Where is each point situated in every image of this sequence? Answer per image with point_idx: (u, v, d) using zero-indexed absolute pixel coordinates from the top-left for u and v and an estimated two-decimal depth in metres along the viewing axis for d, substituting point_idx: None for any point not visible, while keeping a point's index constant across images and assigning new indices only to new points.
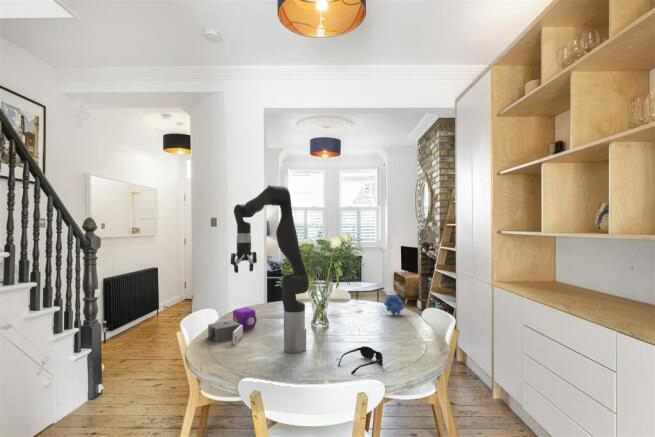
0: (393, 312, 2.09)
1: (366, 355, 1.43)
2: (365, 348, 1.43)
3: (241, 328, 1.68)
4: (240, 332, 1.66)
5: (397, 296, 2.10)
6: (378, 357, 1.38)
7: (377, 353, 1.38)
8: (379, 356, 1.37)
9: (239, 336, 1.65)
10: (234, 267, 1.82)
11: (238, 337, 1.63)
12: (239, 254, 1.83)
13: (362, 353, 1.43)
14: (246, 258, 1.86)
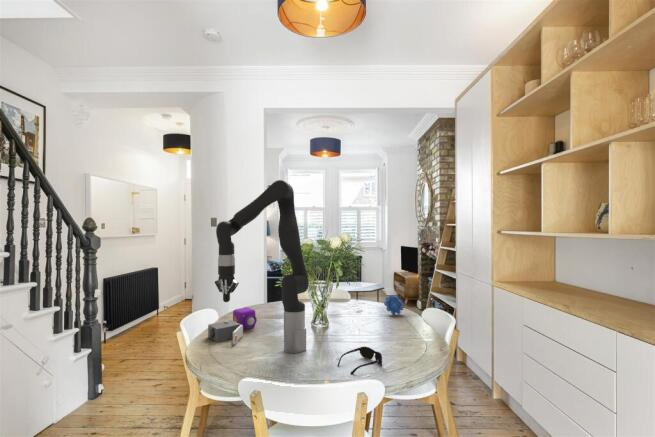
0: (393, 312, 2.09)
1: (366, 355, 1.42)
2: (364, 348, 1.43)
3: (241, 328, 1.68)
4: (240, 332, 1.66)
5: (397, 296, 2.10)
6: (378, 357, 1.38)
7: (377, 353, 1.38)
8: (379, 356, 1.37)
9: (239, 336, 1.65)
10: (228, 296, 1.60)
11: (238, 337, 1.63)
12: None
13: (362, 353, 1.43)
14: None
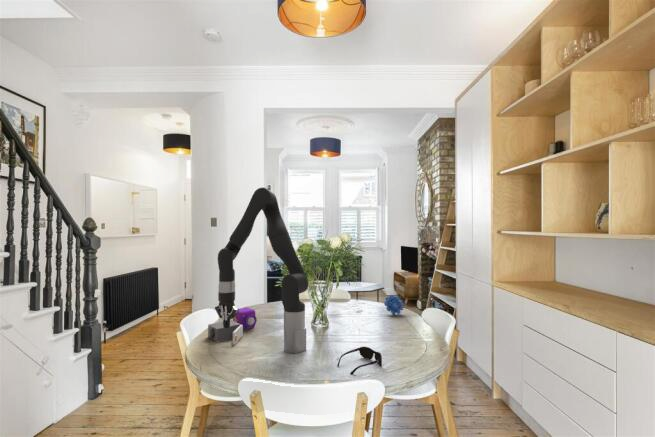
0: (393, 312, 2.09)
1: (365, 355, 1.42)
2: (364, 349, 1.43)
3: (241, 328, 1.68)
4: (240, 332, 1.66)
5: (397, 296, 2.10)
6: (377, 357, 1.38)
7: (376, 353, 1.38)
8: (378, 356, 1.37)
9: (239, 336, 1.65)
10: (228, 322, 1.61)
11: (238, 337, 1.63)
12: None
13: (361, 353, 1.43)
14: None
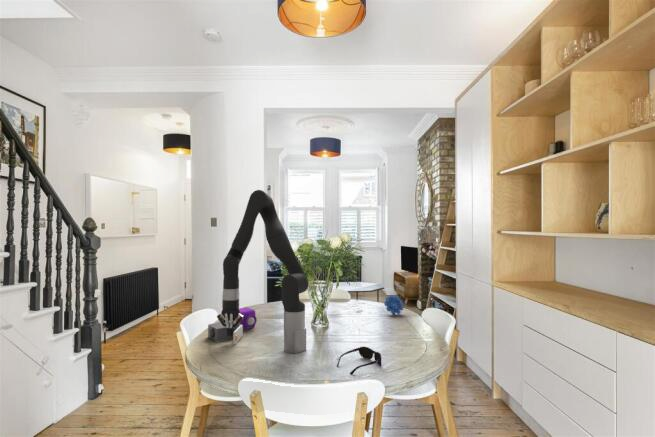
0: (393, 312, 2.09)
1: (365, 355, 1.42)
2: (363, 349, 1.43)
3: (241, 328, 1.68)
4: (240, 332, 1.66)
5: (397, 296, 2.10)
6: (377, 357, 1.38)
7: (376, 353, 1.38)
8: (378, 356, 1.37)
9: (239, 336, 1.65)
10: (233, 329, 1.60)
11: (238, 337, 1.63)
12: None
13: (361, 353, 1.43)
14: None
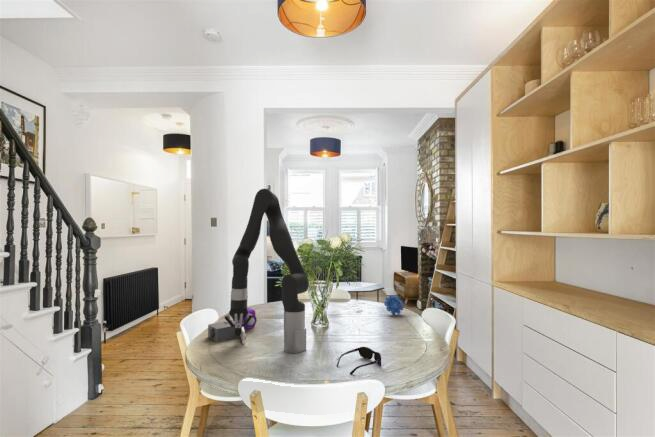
0: (393, 312, 2.09)
1: (365, 355, 1.42)
2: (363, 349, 1.42)
3: None
4: None
5: (397, 296, 2.10)
6: (377, 357, 1.38)
7: (376, 353, 1.38)
8: (378, 356, 1.37)
9: None
10: None
11: None
12: None
13: (361, 353, 1.43)
14: None
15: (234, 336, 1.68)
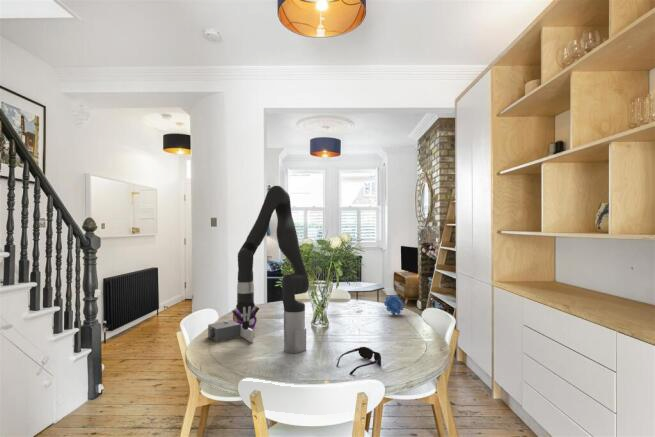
0: (393, 312, 2.09)
1: (365, 355, 1.42)
2: (363, 349, 1.42)
3: None
4: None
5: (397, 296, 2.10)
6: (377, 357, 1.37)
7: (376, 353, 1.38)
8: (378, 356, 1.37)
9: None
10: (248, 322, 1.61)
11: None
12: None
13: (361, 353, 1.43)
14: None
15: (234, 336, 1.68)
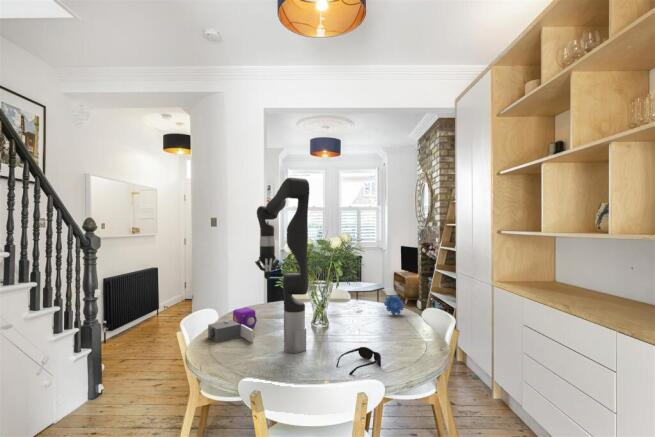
0: (393, 312, 2.09)
1: (365, 355, 1.42)
2: (363, 349, 1.42)
3: None
4: None
5: (397, 296, 2.10)
6: (376, 358, 1.37)
7: (375, 354, 1.38)
8: (377, 357, 1.37)
9: None
10: None
11: None
12: None
13: (360, 354, 1.43)
14: None
15: (234, 336, 1.68)
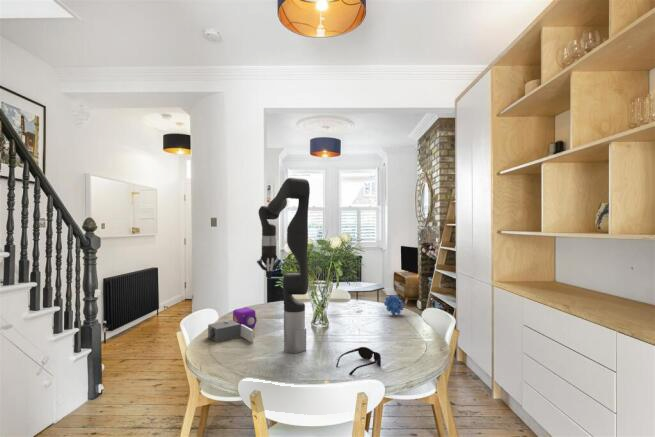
0: (393, 312, 2.09)
1: (364, 355, 1.42)
2: (363, 349, 1.42)
3: None
4: None
5: (397, 296, 2.10)
6: (376, 358, 1.37)
7: (375, 354, 1.38)
8: (377, 357, 1.37)
9: None
10: (271, 272, 1.79)
11: None
12: None
13: (360, 354, 1.43)
14: None
15: (234, 336, 1.68)
